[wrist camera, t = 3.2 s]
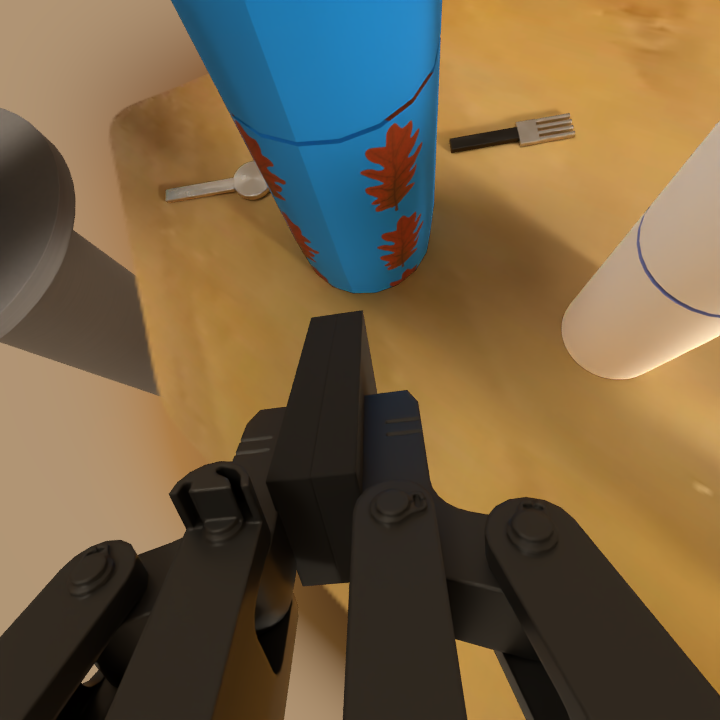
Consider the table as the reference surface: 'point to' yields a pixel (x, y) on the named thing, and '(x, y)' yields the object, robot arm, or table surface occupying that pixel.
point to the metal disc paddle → (225, 186)
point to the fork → (519, 134)
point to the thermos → (335, 121)
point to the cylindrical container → (656, 279)
